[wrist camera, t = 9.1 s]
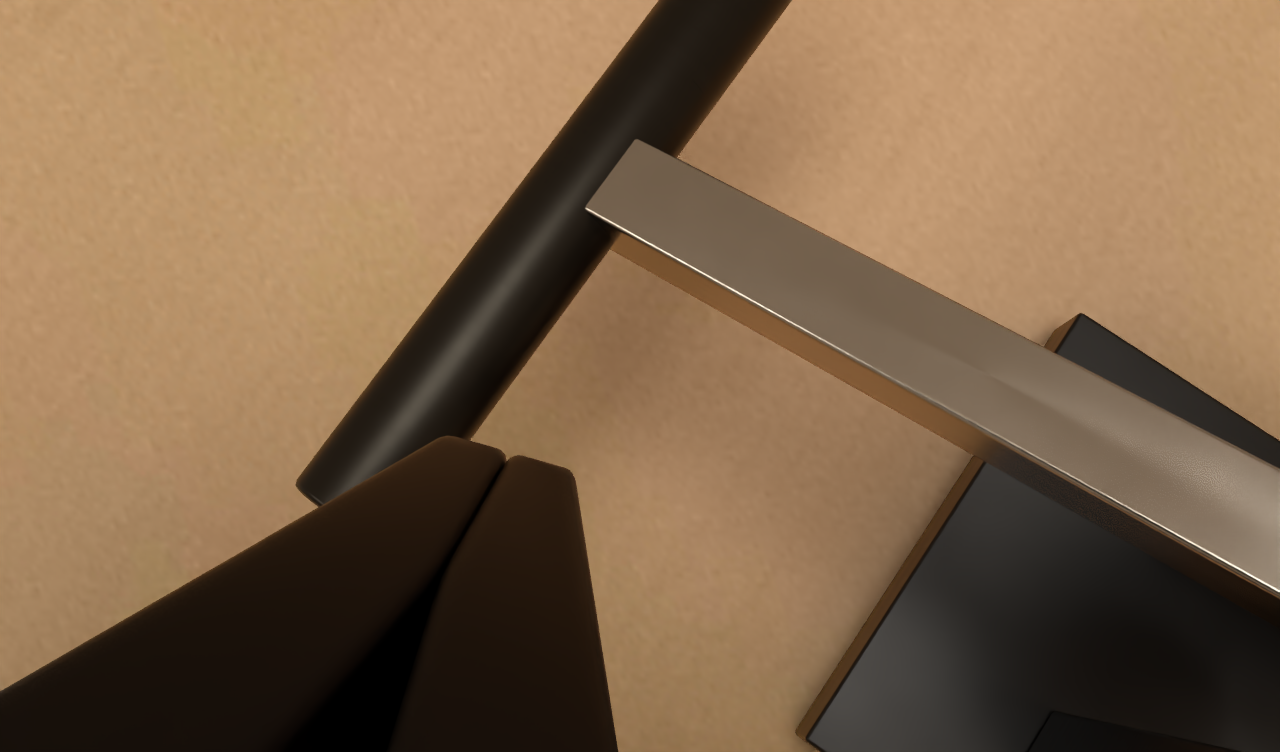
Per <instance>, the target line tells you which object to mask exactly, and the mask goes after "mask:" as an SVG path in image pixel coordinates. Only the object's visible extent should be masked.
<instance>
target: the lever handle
mask: <svg viewBox="0 0 1280 752" xmlns="http://www.w3.org/2000/svg"><path fill="white" fill-rule="evenodd" d="M791 1H792V0H659V1H658V2H657V4H656V5H655V6H654V7H653V9H652V10H651V11H650V13H649V14H648V15H647V17H646V18H645V19H644V21H643V22H642V23H641V25H640V26H639V27H638V29H637V30H636V31H635V33H634V34H633V35H632V37H631V38H630V39H629V41H628V42H627V43H626V45H625V46H624V47H623V49H622V50H621V51H620V53H619V54H618V55H617V56H616V58H615V59H614V60H613V62H612V63H611V64H610V66H609V67H608V68H607V70H606V71H605V72H604V74H603V75H602V76H601V78H600V79H599V80H598V82H597V83H596V84H595V86H594V87H593V88H592V90H591V91H590V92H589V94H588V95H587V96H586V98H585V99H584V100H583V102H582V103H581V104H580V105H579V107H578V108H577V109H576V111H575V112H574V113H573V115H572V116H571V117H570V119H569V120H568V121H567V123H566V124H565V125H564V127H563V128H562V129H561V131H560V132H559V133H558V135H557V136H556V137H555V139H554V140H553V141H552V143H551V144H550V145H549V147H548V148H547V149H546V151H545V152H544V153H543V154H542V156H541V157H540V158H539V160H538V161H537V162H536V164H535V165H534V166H533V168H532V169H531V170H530V172H529V173H528V174H527V176H526V177H525V178H524V180H523V181H522V182H521V184H520V185H519V186H518V188H517V189H516V190H515V192H514V193H513V194H512V196H511V197H510V198H509V199H508V201H507V202H506V203H505V205H504V206H503V207H502V209H501V210H500V211H499V213H498V214H497V215H496V217H495V218H494V219H493V221H492V222H491V223H490V225H489V226H488V227H487V229H486V230H485V231H484V233H483V234H482V235H481V237H480V238H479V239H478V241H477V242H476V243H475V245H474V246H473V247H472V248H471V250H470V251H469V252H468V254H467V255H466V256H465V258H464V259H463V260H462V262H461V263H460V264H459V266H458V267H457V268H456V270H455V271H454V272H453V274H452V275H451V276H450V278H449V279H448V280H447V282H446V283H445V284H444V286H443V287H442V288H441V290H440V291H439V292H438V294H437V295H436V296H435V297H434V299H433V300H432V301H431V303H430V304H429V305H428V307H427V308H426V309H425V311H424V312H423V313H422V315H421V316H420V317H419V319H418V320H417V321H416V323H415V324H414V325H413V327H412V328H411V329H410V331H409V332H408V333H407V335H406V336H405V337H404V339H403V340H402V341H401V343H400V344H399V345H398V346H397V348H396V349H395V350H394V352H393V353H392V354H391V356H390V357H389V358H388V360H387V361H386V362H385V364H384V365H383V366H382V368H381V369H380V370H379V372H378V373H377V374H376V376H375V377H374V378H373V380H372V381H371V382H370V384H369V385H368V386H367V388H366V389H365V390H364V392H363V393H362V394H361V395H360V397H359V398H358V399H357V401H356V402H355V403H354V405H353V406H352V407H351V409H350V410H349V411H348V413H347V414H346V415H345V417H344V418H343V419H342V421H341V422H340V423H339V425H338V426H337V427H336V429H335V430H334V431H333V433H332V434H331V435H330V437H329V438H328V439H327V440H326V442H325V443H324V444H323V446H322V447H321V448H320V450H319V451H318V452H317V454H316V455H315V456H314V458H313V459H312V460H311V462H310V463H309V464H308V466H307V467H306V468H305V470H304V471H303V472H302V474H301V475H300V476H299V478H298V479H297V482H296V487H297V488H298V490H299V491H300V492H301V493H302V494H303V495H304V496H305V497H307V498H308V499H309V500H310V501H311V502H313V503H314V504H315V505H317V506H318V507H320V506H322V505H323V504H325V503H327V502H329V501H330V500H332V499H334V498H336V497H337V496H339V495H341V494H342V493H344V492H346V491H348V490H349V489H351V488H353V487H355V486H356V485H358V484H360V483H362V482H363V481H365V480H367V479H368V478H370V477H372V476H374V475H375V474H377V473H379V472H381V471H382V470H384V469H386V468H387V467H389V466H391V465H393V464H394V463H396V462H398V461H400V460H401V459H403V458H405V457H406V456H408V455H410V454H412V453H413V452H415V451H417V450H419V449H420V448H422V447H424V446H425V445H427V444H429V443H431V442H432V441H434V440H436V439H438V438H440V437H444V436H455V437H459V438H462V439H466V440H469V441H470V439H471V438H472V437H473V435H474V434H475V433H476V431H477V430H478V428H479V427H480V426H481V424H482V423H483V422H484V420H485V419H486V417H487V416H488V415H489V413H490V412H491V411H492V409H493V408H494V407H495V405H496V404H497V402H498V401H499V400H500V398H501V397H502V396H503V394H504V393H505V392H506V390H507V389H508V387H509V386H510V385H511V383H512V382H513V381H514V379H515V378H516V376H517V375H518V374H519V372H520V371H521V370H522V368H523V367H524V366H525V364H526V363H527V361H528V360H529V359H530V357H531V356H532V355H533V353H534V352H535V351H536V349H537V348H538V346H539V345H540V344H541V342H542V341H543V340H544V338H545V337H546V336H547V334H548V333H549V331H550V330H551V329H552V327H553V326H554V325H555V323H556V322H557V320H558V319H559V318H560V316H561V315H562V314H563V312H564V311H565V310H566V308H567V307H568V305H569V304H570V303H571V301H572V300H573V299H574V297H575V296H576V295H577V293H578V292H579V290H580V289H581V288H582V286H583V285H584V284H585V282H586V281H587V279H588V278H589V277H590V275H591V274H592V273H593V271H594V270H595V269H596V267H597V266H598V264H599V263H600V262H601V260H602V259H603V258H604V256H605V255H606V254H607V252H608V251H609V249H610V250H612V251H614V252H616V253H617V254H619V255H621V256H623V257H624V258H626V259H628V260H630V261H631V262H633V263H635V264H637V265H638V266H640V267H642V268H644V269H646V270H647V271H649V272H651V273H653V274H654V275H656V276H658V277H660V278H661V279H663V280H665V281H667V282H668V283H670V284H672V285H674V286H676V287H677V288H679V289H681V290H683V291H684V292H686V293H688V294H690V295H691V296H693V297H695V298H697V299H698V300H700V301H702V302H704V303H706V304H707V305H709V306H711V307H713V308H714V309H716V310H718V311H720V312H721V313H723V314H725V315H727V316H728V317H730V318H732V319H734V320H736V321H737V322H739V323H741V324H743V325H744V326H746V327H748V328H750V329H751V330H753V331H755V332H757V333H759V334H760V335H762V336H764V337H766V338H767V339H769V340H771V341H773V342H774V343H776V344H778V345H780V346H781V347H783V348H785V349H787V350H789V351H790V352H792V353H794V354H796V355H797V356H799V357H801V358H803V359H804V360H806V361H808V362H810V363H811V364H813V365H815V366H817V367H819V368H820V369H822V370H824V371H826V372H827V373H829V374H831V375H833V376H834V377H836V378H838V379H840V380H841V381H843V382H845V383H847V384H849V385H850V386H852V387H854V388H856V389H857V390H859V391H861V392H863V393H864V394H866V395H868V396H870V397H871V398H873V399H875V400H877V401H879V402H880V403H882V404H884V405H886V406H887V407H889V408H891V409H893V410H894V411H896V412H898V413H900V414H901V415H903V416H905V417H907V418H909V419H910V420H912V421H914V422H916V423H917V424H919V425H921V426H923V427H924V428H926V429H928V430H930V431H931V432H933V433H935V434H937V435H939V436H940V437H942V438H944V439H946V440H947V441H949V442H951V443H953V444H954V445H956V446H958V447H960V448H961V449H963V450H965V451H967V452H969V453H970V454H972V455H974V456H976V457H977V458H979V459H981V460H983V461H984V462H986V463H988V464H990V465H991V466H993V467H995V468H997V469H999V470H1000V471H1002V472H1004V473H1006V474H1007V475H1009V476H1011V477H1013V478H1014V479H1016V480H1018V481H1020V482H1021V483H1023V484H1025V485H1027V486H1029V487H1030V488H1032V489H1034V490H1036V491H1037V492H1039V493H1041V494H1043V495H1044V496H1046V497H1048V498H1050V499H1051V500H1053V501H1055V502H1057V503H1059V504H1060V505H1062V506H1064V507H1066V508H1067V509H1069V510H1071V511H1073V512H1074V513H1076V514H1078V515H1080V516H1081V517H1083V518H1085V519H1087V520H1089V521H1090V522H1092V523H1094V524H1096V525H1097V526H1099V527H1101V528H1103V529H1104V530H1106V531H1108V532H1110V533H1111V534H1113V535H1115V536H1117V537H1119V538H1120V539H1122V540H1124V541H1126V542H1127V543H1129V544H1131V545H1133V546H1134V547H1136V548H1138V549H1140V550H1141V551H1143V552H1145V553H1147V554H1149V555H1150V556H1152V557H1154V558H1156V559H1157V560H1159V561H1161V562H1163V563H1164V564H1166V565H1168V566H1170V567H1171V568H1173V569H1175V570H1177V571H1179V572H1180V573H1182V574H1184V575H1186V576H1187V577H1189V578H1191V579H1193V580H1194V581H1196V582H1198V583H1200V584H1201V585H1203V586H1205V587H1207V588H1209V589H1210V590H1212V591H1214V592H1216V593H1217V594H1219V595H1221V596H1223V597H1224V598H1226V599H1228V600H1230V601H1231V602H1233V603H1235V604H1237V605H1239V606H1240V607H1242V608H1244V609H1246V610H1247V611H1249V612H1251V613H1253V614H1254V615H1256V616H1258V617H1260V618H1261V619H1263V620H1265V621H1267V622H1269V623H1270V624H1272V625H1274V626H1276V627H1277V628H1279V629H1280V469H1279V468H1277V467H1275V466H1273V465H1271V464H1269V463H1267V462H1266V461H1264V460H1262V459H1260V458H1258V457H1256V456H1254V455H1252V454H1250V453H1248V452H1246V451H1244V450H1242V449H1240V448H1238V447H1236V446H1234V445H1233V444H1231V443H1229V442H1227V441H1225V440H1223V439H1221V438H1219V437H1217V436H1215V435H1213V434H1211V433H1209V432H1207V431H1205V430H1203V429H1202V428H1200V427H1198V426H1196V425H1194V424H1192V423H1190V422H1188V421H1186V420H1184V419H1182V418H1180V417H1178V416H1176V415H1174V414H1172V413H1170V412H1169V411H1167V410H1165V409H1163V408H1161V407H1159V406H1157V405H1155V404H1153V403H1151V402H1149V401H1147V400H1145V399H1143V398H1141V397H1139V396H1137V395H1136V394H1134V393H1132V392H1130V391H1128V390H1126V389H1124V388H1122V387H1120V386H1118V385H1116V384H1114V383H1112V382H1110V381H1108V380H1106V379H1104V378H1103V377H1101V376H1099V375H1097V374H1095V373H1093V372H1091V371H1089V370H1087V369H1085V368H1083V367H1081V366H1079V365H1077V364H1075V363H1073V362H1071V361H1070V360H1068V359H1066V358H1064V357H1062V356H1060V355H1058V354H1056V353H1054V352H1052V351H1050V350H1048V349H1046V348H1044V347H1042V346H1040V345H1038V344H1037V343H1035V342H1033V341H1031V340H1029V339H1027V338H1025V337H1023V336H1021V335H1019V334H1017V333H1015V332H1013V331H1011V330H1009V329H1007V328H1005V327H1004V326H1002V325H1000V324H998V323H996V322H994V321H992V320H990V319H988V318H986V317H984V316H982V315H980V314H978V313H976V312H974V311H973V310H971V309H969V308H967V307H965V306H963V305H961V304H959V303H957V302H955V301H953V300H951V299H949V298H947V297H945V296H943V295H941V294H940V293H938V292H936V291H934V290H932V289H930V288H928V287H926V286H924V285H922V284H920V283H918V282H916V281H914V280H912V279H910V278H908V277H907V276H905V275H903V274H901V273H899V272H897V271H895V270H893V269H891V268H889V267H887V266H885V265H883V264H881V263H879V262H877V261H875V260H874V259H872V258H870V257H868V256H866V255H864V254H862V253H860V252H858V251H856V250H854V249H852V248H850V247H848V246H846V245H844V244H842V243H841V242H839V241H837V240H835V239H833V238H831V237H829V236H827V235H825V234H823V233H821V232H819V231H817V230H815V229H813V228H811V227H809V226H808V225H806V224H804V223H802V222H800V221H798V220H796V219H794V218H792V217H790V216H788V215H786V214H784V213H782V212H780V211H778V210H776V209H775V208H773V207H771V206H769V205H767V204H765V203H763V202H761V201H759V200H757V199H755V198H753V197H751V196H749V195H747V194H745V193H743V192H742V191H740V190H738V189H736V188H734V187H732V186H730V185H728V184H726V183H724V182H722V181H720V180H718V179H716V178H714V177H712V176H711V175H709V174H707V173H705V172H703V171H701V170H699V169H697V168H695V167H693V166H691V165H689V164H687V163H685V162H683V161H681V160H679V159H678V158H677V156H678V155H679V154H680V152H681V151H682V150H683V148H684V147H685V146H686V144H687V143H688V141H689V140H690V139H691V137H692V136H693V135H694V133H695V132H696V131H697V129H698V128H699V126H700V125H701V124H702V122H703V121H704V120H705V118H706V117H707V116H708V114H709V113H710V111H711V110H712V109H713V107H714V106H715V105H716V103H717V102H718V100H719V99H720V98H721V96H722V95H723V94H724V92H725V91H726V90H727V88H728V87H729V85H730V84H731V83H732V81H733V80H734V79H735V77H736V76H737V75H738V73H739V72H740V70H741V69H742V68H743V66H744V65H745V64H746V62H747V61H748V59H749V58H750V57H751V55H752V54H753V53H754V51H755V50H756V49H757V47H758V46H759V44H760V43H761V42H762V40H763V39H764V38H765V36H766V35H767V34H768V32H769V31H770V29H771V28H772V27H773V25H774V24H775V23H776V21H777V20H778V18H779V17H780V16H781V14H782V13H783V12H784V10H785V9H786V8H787V6H788V5H789V3H790V2H791Z"/></svg>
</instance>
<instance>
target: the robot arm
mask: <svg viewBox="0 0 1280 752" xmlns="http://www.w3.org/2000/svg"><path fill="white" fill-rule="evenodd" d="M0 752H618V748H617V741H616V735H615V728H614V722H613V716H612V709H611V703H610V697H609V690H608V684H607V678H606V671H605V665H604V658H603V652H602V646H601V639H600V633H599V627H598V620H597V614H596V607H595V601H594V595H593V588H592V582H591V576H590V569H589V563H588V557H587V550H586V544H585V537H584V531H583V525H582V518H581V512H580V506H579V499H578V493H577V486H576V481H575V478H574V476H573V473H572V472H571V471H570V470H568V469H566V468H564V467H560V466H557V465H553V464H550V463H546V462H543V461H539V460H535V459H532V458H528V457H525V456H520V455H517V456H514V457H511V458H510V459H509V460H508V461H507V459H506V456H505V454H504V453H503V452H502V451H501V450H499V449H497V448H494V447H490V446H487V445H483V444H480V443H476V442H473V441H469V440H466V439H462V438H459V437H455V436H444V437H440V438H438V439H436V440H434V441H432V442H431V443H429V444H427V445H425V446H424V447H422V448H420V449H419V450H417V451H415V452H413V453H412V454H410V455H408V456H406V457H405V458H403V459H401V460H400V461H398V462H396V463H394V464H393V465H391V466H389V467H387V468H386V469H384V470H382V471H381V472H379V473H377V474H375V475H374V476H372V477H370V478H368V479H367V480H365V481H363V482H362V483H360V484H358V485H356V486H355V487H353V488H351V489H349V490H348V491H346V492H344V493H342V494H341V495H339V496H337V497H336V498H334V499H332V500H330V501H329V502H327V503H325V504H323V505H322V506H320V507H318V508H317V509H315V510H313V511H311V512H310V513H308V514H306V515H304V516H303V517H301V518H299V519H298V520H296V521H294V522H292V523H291V524H289V525H287V526H285V527H284V528H282V529H280V530H279V531H277V532H275V533H273V534H272V535H270V536H268V537H266V538H265V539H263V540H261V541H259V542H258V543H256V544H254V545H253V546H251V547H249V548H247V549H246V550H244V551H242V552H240V553H239V554H237V555H235V556H234V557H232V558H230V559H228V560H227V561H225V562H223V563H221V564H220V565H218V566H216V567H215V568H213V569H211V570H209V571H208V572H206V573H204V574H202V575H201V576H199V577H197V578H196V579H194V580H192V581H190V582H189V583H187V584H185V585H183V586H182V587H180V588H178V589H177V590H175V591H173V592H171V593H170V594H168V595H166V596H164V597H163V598H161V599H159V600H157V601H156V602H154V603H152V604H151V605H149V606H147V607H145V608H144V609H142V610H140V611H138V612H137V613H135V614H133V615H132V616H130V617H128V618H126V619H125V620H123V621H121V622H119V623H118V624H116V625H114V626H113V627H111V628H109V629H107V630H106V631H104V632H102V633H100V634H99V635H97V636H95V637H94V638H92V639H90V640H88V641H87V642H85V643H83V644H81V645H80V646H78V647H76V648H75V649H73V650H71V651H69V652H68V653H66V654H64V655H62V656H61V657H59V658H57V659H55V660H54V661H52V662H50V663H49V664H47V665H45V666H43V667H42V668H40V669H38V670H36V671H35V672H33V673H31V674H30V675H28V676H26V677H24V678H23V679H21V680H19V681H17V682H16V683H14V684H12V685H11V686H9V687H7V688H5V689H4V690H2V691H0Z"/></svg>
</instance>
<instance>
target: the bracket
mask: <svg viewBox="0 0 1280 752" xmlns="http://www.w3.org/2000/svg"><path fill="white" fill-rule="evenodd" d="M1044 348H1046V349H1048V350H1050V351H1052V352H1054V353H1056V354H1058V355H1060V356H1062V357H1064V358H1066V359H1068V360H1070V361H1071V362H1073V363H1075V364H1077V365H1079V366H1081V367H1083V368H1085V369H1087V370H1089V371H1091V372H1093V373H1095V374H1097V375H1099V376H1101V377H1103V378H1104V379H1106V380H1108V381H1110V382H1112V383H1114V384H1116V385H1118V386H1120V387H1122V388H1124V389H1126V390H1128V391H1130V392H1132V393H1134V394H1136V395H1137V396H1139V397H1141V398H1143V399H1145V400H1147V401H1149V402H1151V403H1153V404H1155V405H1157V406H1159V407H1161V408H1163V409H1165V410H1167V411H1169V412H1170V413H1172V414H1174V415H1176V416H1178V417H1180V418H1182V419H1184V420H1186V421H1188V422H1190V423H1192V424H1194V425H1196V426H1198V427H1200V428H1202V429H1203V430H1205V431H1207V432H1209V433H1211V434H1213V435H1215V436H1217V437H1219V438H1221V439H1223V440H1225V441H1227V442H1229V443H1231V444H1233V445H1234V446H1236V447H1238V448H1240V449H1242V450H1244V451H1246V452H1248V453H1250V454H1252V455H1254V456H1256V457H1258V458H1260V459H1262V460H1264V461H1266V462H1267V463H1269V464H1271V465H1273V466H1275V467H1277V468H1279V469H1280V441H1279V440H1277V439H1276V438H1274V437H1273V436H1271V435H1269V434H1268V433H1266V432H1265V431H1263V430H1262V429H1260V428H1259V427H1257V426H1256V425H1254V424H1253V423H1251V422H1249V421H1248V420H1246V419H1245V418H1243V417H1242V416H1240V415H1239V414H1237V413H1236V412H1234V411H1232V410H1231V409H1229V408H1228V407H1226V406H1225V405H1223V404H1222V403H1220V402H1219V401H1217V400H1216V399H1214V398H1212V397H1211V396H1209V395H1208V394H1206V393H1205V392H1203V391H1202V390H1200V389H1199V388H1197V387H1195V386H1194V385H1192V384H1191V383H1189V382H1188V381H1186V380H1185V379H1183V378H1182V377H1180V376H1179V375H1177V374H1175V373H1174V372H1172V371H1171V370H1169V369H1168V368H1166V367H1165V366H1163V365H1162V364H1160V363H1158V362H1157V361H1155V360H1154V359H1152V358H1151V357H1149V356H1148V355H1146V354H1145V353H1143V352H1141V351H1140V350H1138V349H1137V348H1135V347H1134V346H1132V345H1131V344H1129V343H1128V342H1126V341H1125V340H1123V339H1121V338H1120V337H1118V336H1117V335H1115V334H1114V333H1112V332H1111V331H1109V330H1108V329H1106V328H1104V327H1103V326H1101V325H1100V324H1098V323H1097V322H1095V321H1094V320H1092V319H1091V318H1089V317H1088V316H1086V315H1084V314H1082V313H1079V314H1078V315H1076V316H1075V317H1073V318H1072V319H1071V320H1069V321H1068V322H1066V323H1065V324H1063V325H1062V326H1060V327H1059V328H1057V329H1056V330H1055V331H1054V332H1053V334H1052V335H1051V337H1050V339H1049V340H1048V342H1047V343H1046V345H1045V346H1044ZM796 734H797V735H798V736H799V737H800V738H802V739H803V740H805V741H806V742H807V743H809V744H810V745H812V746H813V747H814V748H816V749H817V750H819V751H820V752H1280V629H1279V628H1277V627H1276V626H1274V625H1272V624H1270V623H1269V622H1267V621H1265V620H1263V619H1261V618H1260V617H1258V616H1256V615H1254V614H1253V613H1251V612H1249V611H1247V610H1246V609H1244V608H1242V607H1240V606H1239V605H1237V604H1235V603H1233V602H1231V601H1230V600H1228V599H1226V598H1224V597H1223V596H1221V595H1219V594H1217V593H1216V592H1214V591H1212V590H1210V589H1209V588H1207V587H1205V586H1203V585H1201V584H1200V583H1198V582H1196V581H1194V580H1193V579H1191V578H1189V577H1187V576H1186V575H1184V574H1182V573H1180V572H1179V571H1177V570H1175V569H1173V568H1171V567H1170V566H1168V565H1166V564H1164V563H1163V562H1161V561H1159V560H1157V559H1156V558H1154V557H1152V556H1150V555H1149V554H1147V553H1145V552H1143V551H1141V550H1140V549H1138V548H1136V547H1134V546H1133V545H1131V544H1129V543H1127V542H1126V541H1124V540H1122V539H1120V538H1119V537H1117V536H1115V535H1113V534H1111V533H1110V532H1108V531H1106V530H1104V529H1103V528H1101V527H1099V526H1097V525H1096V524H1094V523H1092V522H1090V521H1089V520H1087V519H1085V518H1083V517H1081V516H1080V515H1078V514H1076V513H1074V512H1073V511H1071V510H1069V509H1067V508H1066V507H1064V506H1062V505H1060V504H1059V503H1057V502H1055V501H1053V500H1051V499H1050V498H1048V497H1046V496H1044V495H1043V494H1041V493H1039V492H1037V491H1036V490H1034V489H1032V488H1030V487H1029V486H1027V485H1025V484H1023V483H1021V482H1020V481H1018V480H1016V479H1014V478H1013V477H1011V476H1009V475H1007V474H1006V473H1004V472H1002V471H1000V470H999V469H997V468H995V467H993V466H991V465H990V464H988V463H986V462H984V461H983V460H981V459H979V458H977V457H976V456H973V457H972V459H971V461H970V462H969V464H968V465H967V467H966V468H965V470H964V471H963V473H962V474H961V476H960V477H959V479H958V481H957V482H956V484H955V485H954V487H953V488H952V490H951V491H950V493H949V494H948V496H947V498H946V499H945V501H944V502H943V504H942V505H941V507H940V508H939V510H938V511H937V513H936V515H935V516H934V518H933V519H932V521H931V522H930V524H929V525H928V527H927V528H926V530H925V531H924V533H923V535H922V536H921V538H920V539H919V541H918V542H917V544H916V545H915V547H914V548H913V550H912V552H911V553H910V555H909V556H908V558H907V559H906V561H905V562H904V564H903V565H902V567H901V569H900V570H899V572H898V573H897V575H896V576H895V578H894V579H893V581H892V582H891V584H890V586H889V587H888V589H887V590H886V592H885V593H884V595H883V596H882V598H881V599H880V601H879V602H878V604H877V606H876V607H875V609H874V610H873V612H872V613H871V615H870V616H869V618H868V619H867V621H866V623H865V624H864V626H863V627H862V629H861V630H860V632H859V633H858V635H857V636H856V638H855V640H854V641H853V643H852V644H851V646H850V647H849V649H848V650H847V652H846V653H845V655H844V657H843V658H842V660H841V661H840V663H839V664H838V666H837V667H836V669H835V670H834V672H833V673H832V675H831V677H830V678H829V680H828V681H827V683H826V684H825V686H824V687H823V689H822V690H821V692H820V694H819V695H818V697H817V698H816V700H815V701H814V703H813V704H812V706H811V707H810V709H809V711H808V712H807V714H806V715H805V717H804V718H803V720H802V721H801V723H800V724H799V726H798V728H797V729H796Z"/></svg>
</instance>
